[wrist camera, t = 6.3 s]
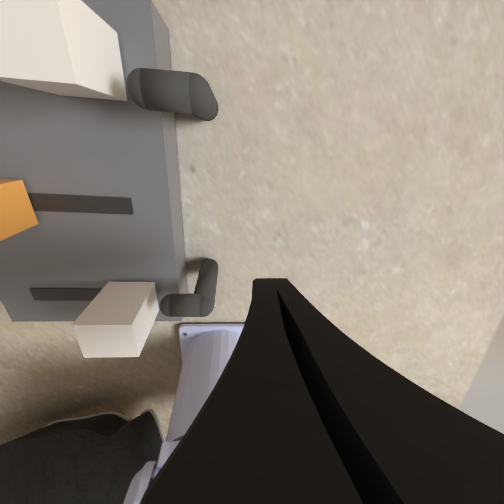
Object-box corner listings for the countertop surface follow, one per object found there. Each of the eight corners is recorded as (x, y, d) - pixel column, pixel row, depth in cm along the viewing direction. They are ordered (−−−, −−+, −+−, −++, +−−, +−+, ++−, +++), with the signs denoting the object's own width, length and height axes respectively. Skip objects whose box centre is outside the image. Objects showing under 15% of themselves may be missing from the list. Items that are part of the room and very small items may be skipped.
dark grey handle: (218, 270, 19) (213, 321, 14) (179, 269, 19) (157, 321, 14) (218, 96, 14) (209, 70, 8) (162, 90, 13) (116, 61, 8)
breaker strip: (188, 296, 20) (181, 321, 18) (43, 295, 19) (11, 322, 16) (168, 29, 12) (149, -2, 10) (-84, 0, 11) (-188, -45, 8)
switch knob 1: (127, 101, 11) (76, 84, 7) (60, 95, 11) (-26, 74, 7) (117, 32, 10) (51, -27, 6) (42, 24, 10) (-72, -43, 6)
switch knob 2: (158, 310, 17) (138, 356, 13) (116, 310, 16) (84, 357, 13) (154, 282, 16) (131, 324, 12) (108, 281, 15) (71, 324, 12)
